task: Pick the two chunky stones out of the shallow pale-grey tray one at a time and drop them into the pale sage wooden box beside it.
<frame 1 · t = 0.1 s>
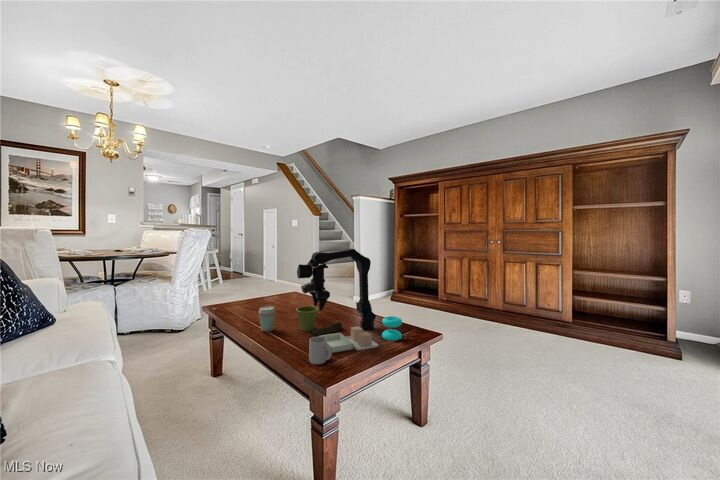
hand: (318, 308, 153), 15 cm above the table, fingers open, 9 cm apart
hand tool: (327, 333, 159), on the table
stone 1: (356, 339, 150), resting on tray a
stone 2: (364, 345, 142), resting on tray a
coffee cup: (266, 330, 163), on the table
tray a: (360, 343, 146), on the table
donuts: (391, 338, 153), on the table
cup: (320, 362, 125), on the table
bin b: (335, 345, 142), on the table
plant pot: (307, 329, 165), on the table
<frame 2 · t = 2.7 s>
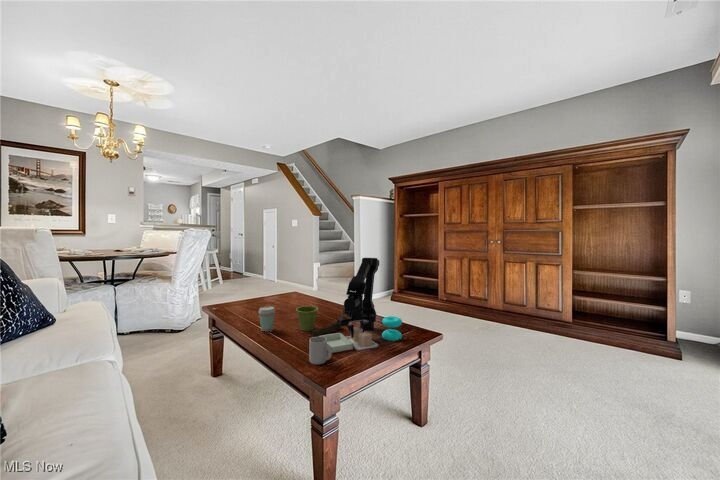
hand: (356, 337, 150), 2 cm above the table, fingers closed on stone 1, 4 cm apart
stone 1: (356, 339, 150), resting on tray a, touching gripper
everything else where it was.
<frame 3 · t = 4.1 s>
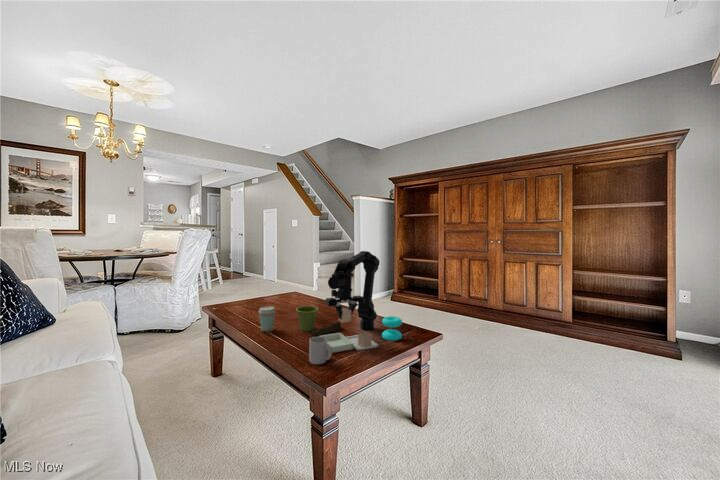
hand: (344, 318, 147), 11 cm above the table, fingers closed on stone 1, 4 cm apart
stone 1: (344, 320, 147), point 10 cm above the table, touching gripper
everything else where it was.
when the fingers open (4 cm above the table, at t = 5.5 s): stone 1 drops 2 cm, resting on bin b.
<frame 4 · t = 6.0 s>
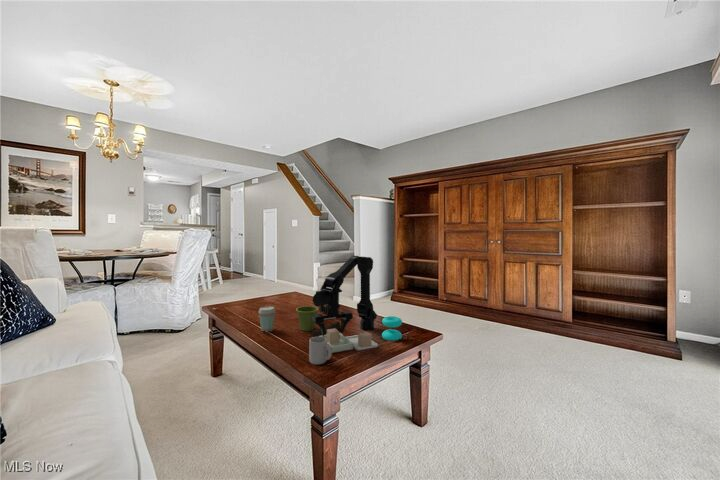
hand: (332, 334, 146), 4 cm above the table, fingers open, 9 cm apart
stone 1: (332, 341, 146), point 1 cm above the table, touching bin b
everything else where it was.
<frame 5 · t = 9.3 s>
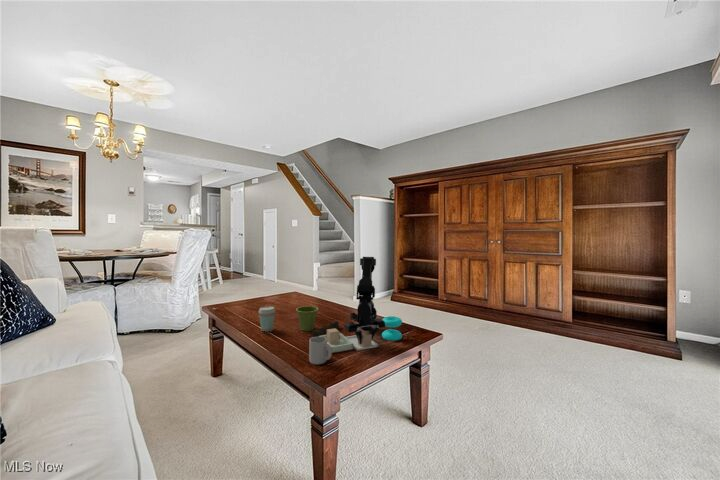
hand: (364, 343, 141), 2 cm above the table, fingers closed on stone 2, 5 cm apart
stone 2: (364, 345, 142), resting on tray a, touching gripper
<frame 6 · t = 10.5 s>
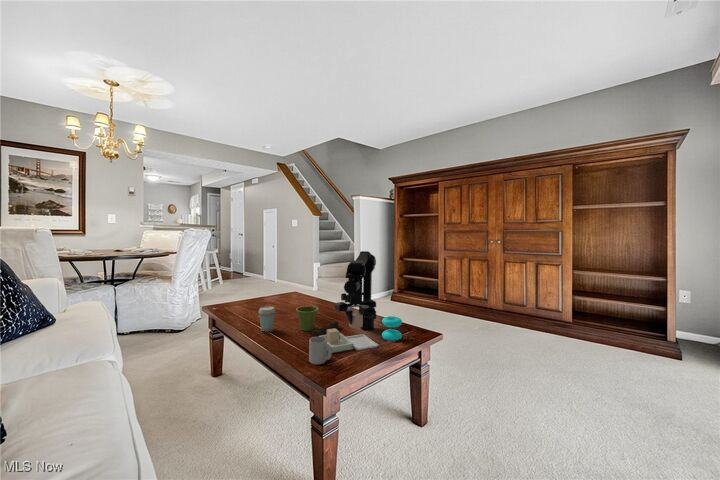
hand: (355, 323, 140), 11 cm above the table, fingers closed on stone 2, 5 cm apart
stone 2: (355, 326, 140), point 10 cm above the table, touching gripper
everything else where it was.
when the fingers open (4 cm above the table, at t = 12.0 s): stone 2 drops 2 cm, resting on bin b.
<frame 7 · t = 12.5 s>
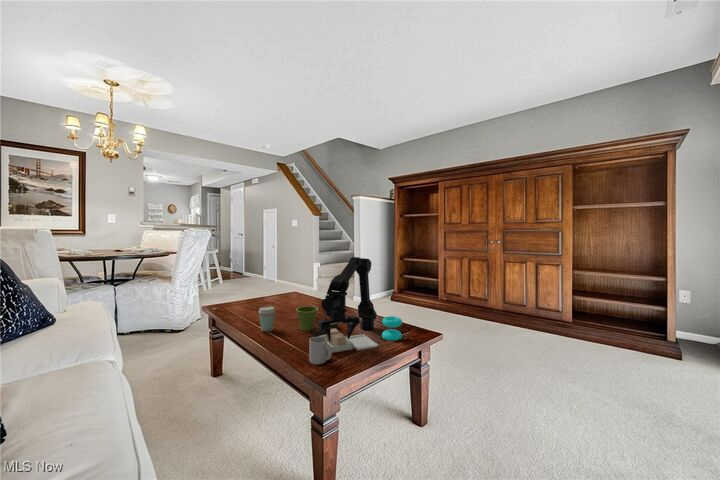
hand: (338, 340, 138), 4 cm above the table, fingers open, 9 cm apart
stone 2: (338, 347, 138), point 1 cm above the table, touching bin b
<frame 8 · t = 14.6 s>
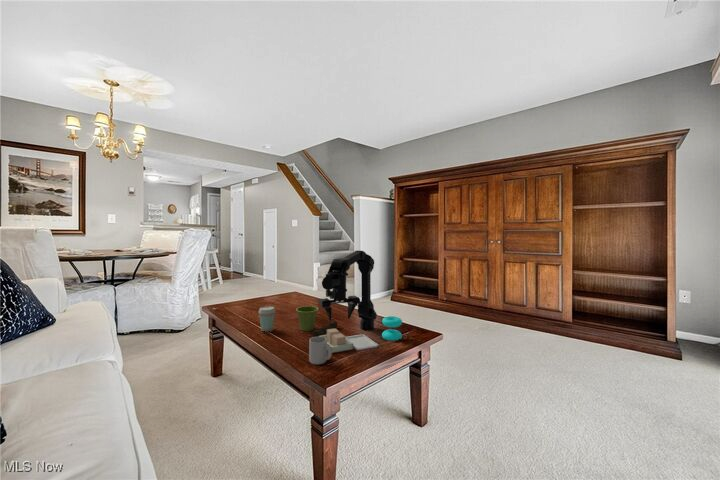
hand: (339, 319, 141), 12 cm above the table, fingers open, 9 cm apart
at the end: stone 1 inside the target area on the bin b (3.9 cm from its centre), point 0.6 cm above the bin b's base; stone 2 inside the target area on the bin b (4.1 cm from its centre), point 0.6 cm above the bin b's base; the gripper is holding nothing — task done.
